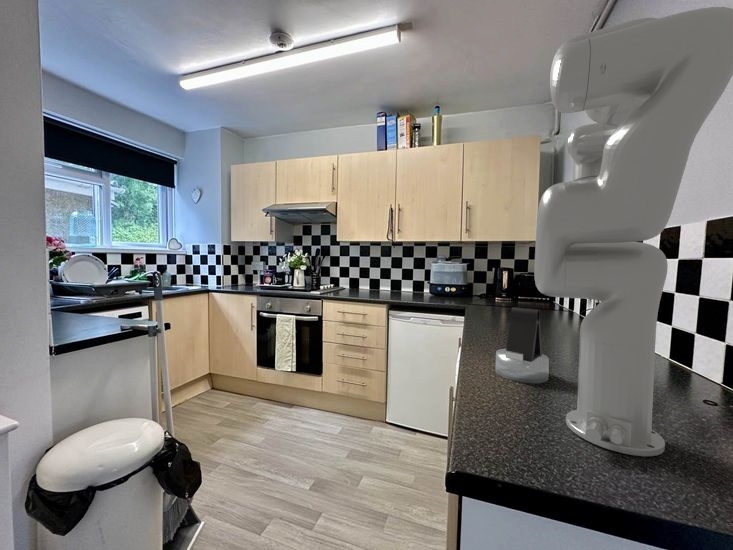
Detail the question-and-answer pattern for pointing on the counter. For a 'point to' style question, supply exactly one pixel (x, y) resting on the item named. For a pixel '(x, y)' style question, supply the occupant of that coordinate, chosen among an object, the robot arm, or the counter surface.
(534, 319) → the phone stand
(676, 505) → the counter surface
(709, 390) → the counter surface
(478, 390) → the counter surface
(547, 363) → the grey short round piece
